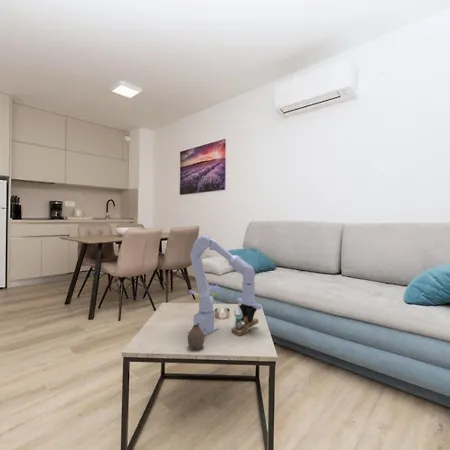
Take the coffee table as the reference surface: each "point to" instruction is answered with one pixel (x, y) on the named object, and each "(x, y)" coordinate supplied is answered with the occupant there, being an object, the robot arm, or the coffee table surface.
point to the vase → (196, 337)
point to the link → (244, 326)
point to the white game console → (238, 311)
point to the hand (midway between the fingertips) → (248, 321)
